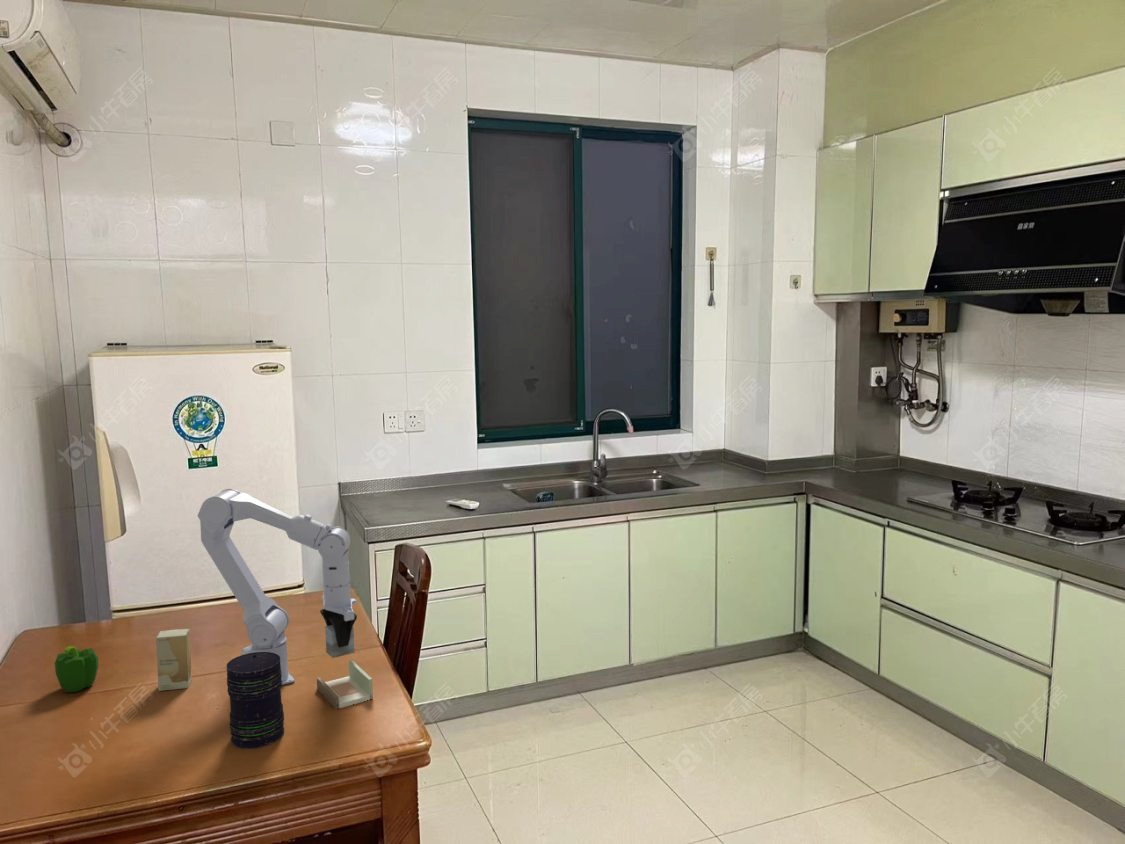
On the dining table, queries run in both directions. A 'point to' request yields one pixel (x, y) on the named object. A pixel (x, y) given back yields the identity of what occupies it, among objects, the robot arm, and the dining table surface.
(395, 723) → the dining table surface
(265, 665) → the storage jar
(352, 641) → the slate cabinet block
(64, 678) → the bell pepper
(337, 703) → the open-front display tray
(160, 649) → the skincare box
